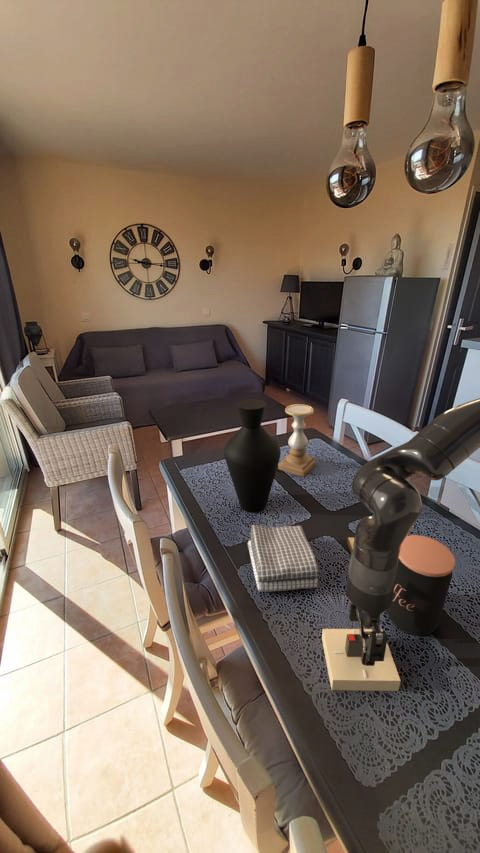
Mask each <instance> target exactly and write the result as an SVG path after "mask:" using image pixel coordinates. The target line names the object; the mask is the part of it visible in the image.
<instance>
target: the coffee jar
mask: <svg viewBox="0 0 480 853" xmlns="http://www.w3.org/2000/svg"><path fill="white" fill-rule="evenodd" d="M455 567H456V559H455V556H454V554H453V552H452V551H451V550H450V549H449V548H448V547H447V546H446V545H445V544H443V543H441V542H440V541H438V540H436V539H434V538H431V537H428V536H424V535H418V534H411V535H407V536H406V538H405V539H404V541H403V542H402V544H401V549H400V554H399V559H398V572H397V578H396V583H395V588H394V593H393V597H392V602H391V605H390V607H389V608H388V609H387V610H385V612H386V614H387V616H388V618H389V620H390V621H391V622H392V623H393V625H395V627H397V629H399V630H401V631H402V632H404V633H405V634H409V635H411V636H416V637H421V636H429V635H430V634H432V633H433V632H435V631H436V630H437V628H438V627H439V625H440V621H441V617H442V614H443V610H444V606H445V604H446V599H447V596H448V592H449V588H450V585H451V582H452V579H453V571H454V569H455Z"/></svg>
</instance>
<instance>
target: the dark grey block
mask: <svg viewBox="0 0 480 853" xmlns="http://www.w3.org/2000/svg"><path fill="white" fill-rule="evenodd" d="M368 641H369V639H367V643H368ZM345 651H346V655H347V657H361V656H362V651H363V638H362V637H361V636H360V634H347V638H346V645H345Z"/></svg>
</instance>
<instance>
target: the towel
mask: <svg viewBox="0 0 480 853" xmlns="http://www.w3.org/2000/svg"><path fill="white" fill-rule="evenodd" d="M247 549H248V551H249V557H250V562H251V567H252V571H253V577H254V581H255V584H256V587H257V590H258V592H267V593H268V592H282V591H293V590H299V589H300V590H302V589H304V590H305V589H317V588H318V587H319V586H318V582H319V579H318V578H319V577H320V570H319V565H318V561H317V558H316V556H315V554H314V550H313V548H312V546H311V544H310V542H309V541H308V538H307V536H306V533H305V531H304V530H303V526H302V525H286V526H277V527H276V526H275V527H269V526H268V527H266V526H264V525H260V524H252V525H251V526H250V540H248V541H247Z"/></svg>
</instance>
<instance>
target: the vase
mask: <svg viewBox="0 0 480 853" xmlns="http://www.w3.org/2000/svg"><path fill="white" fill-rule="evenodd" d="M266 406H267V402H266V401H264V400H262V399H256V398H248V399H247V398H246V399H242V400H239V401H238V402H237V403H236V408H237V411H238V413H239V417H240V422H241V423H242V426H241V427H240V428H239V429H238V430H237V432H235V433H234V434H233V435H232V436H231V437H230V438H229V439H228V440H227V442H226V443H225V447H224V450H223V455H224V459H225V463H226V467H227V469H228V472H229V475H230V479H231V481H232V485H233V487H234V490H235V493H236V498H237V500H238V502H239V506H240V508H241V510H243V511H244V512H246V513H250V514H256V513H260V512H262V511H264V510H265V509H266V507H267V504H268V501H269V497H270V494H271V491H272V487H273V484H274V480H275V477H276V473H277V470H278V465H279V464H280V458H281V454H282V451H281V447H280V444H279V442H278V441H277V439H276V438H275V437H274V436H273V435H271V434H270V432H268V431H267V430H266V429H265V428H264V427H263V426H262V422H263V418H264V414H265V411H266Z"/></svg>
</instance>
